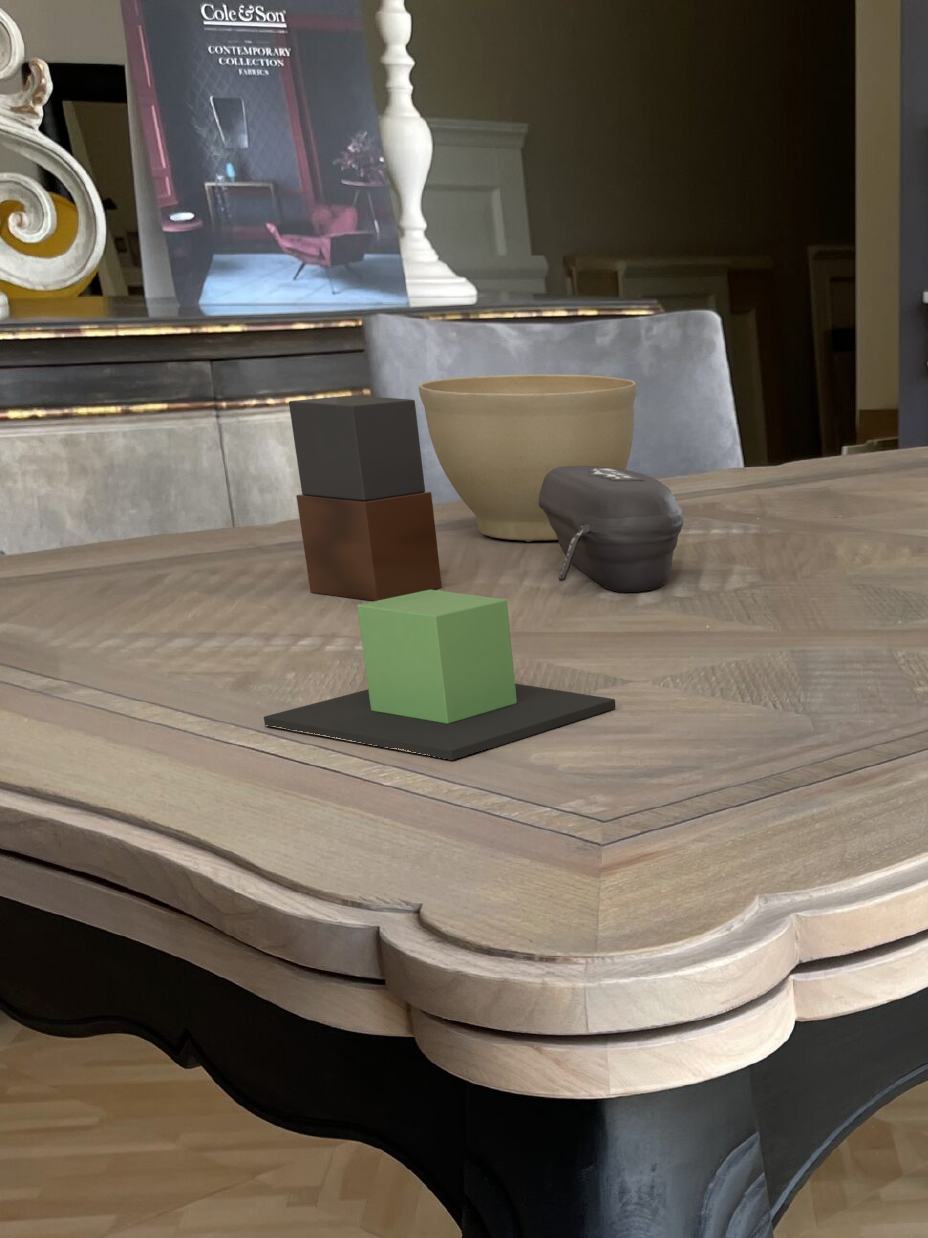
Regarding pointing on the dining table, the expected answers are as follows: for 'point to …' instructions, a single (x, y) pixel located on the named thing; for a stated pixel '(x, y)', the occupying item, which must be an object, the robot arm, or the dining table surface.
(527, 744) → the dining table surface
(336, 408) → the charcoal block
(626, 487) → the glasses case
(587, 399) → the planter bowl
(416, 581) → the walnut block
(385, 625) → the green block
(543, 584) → the dining table surface
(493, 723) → the coaster
